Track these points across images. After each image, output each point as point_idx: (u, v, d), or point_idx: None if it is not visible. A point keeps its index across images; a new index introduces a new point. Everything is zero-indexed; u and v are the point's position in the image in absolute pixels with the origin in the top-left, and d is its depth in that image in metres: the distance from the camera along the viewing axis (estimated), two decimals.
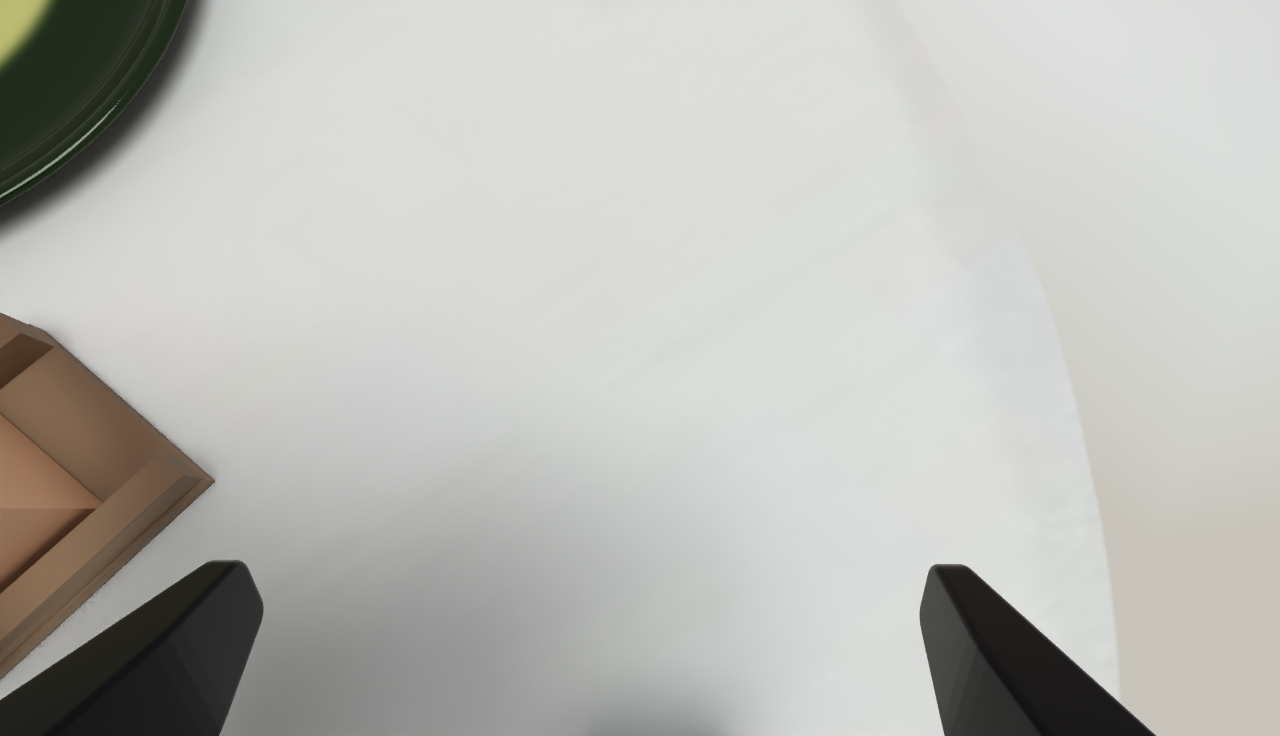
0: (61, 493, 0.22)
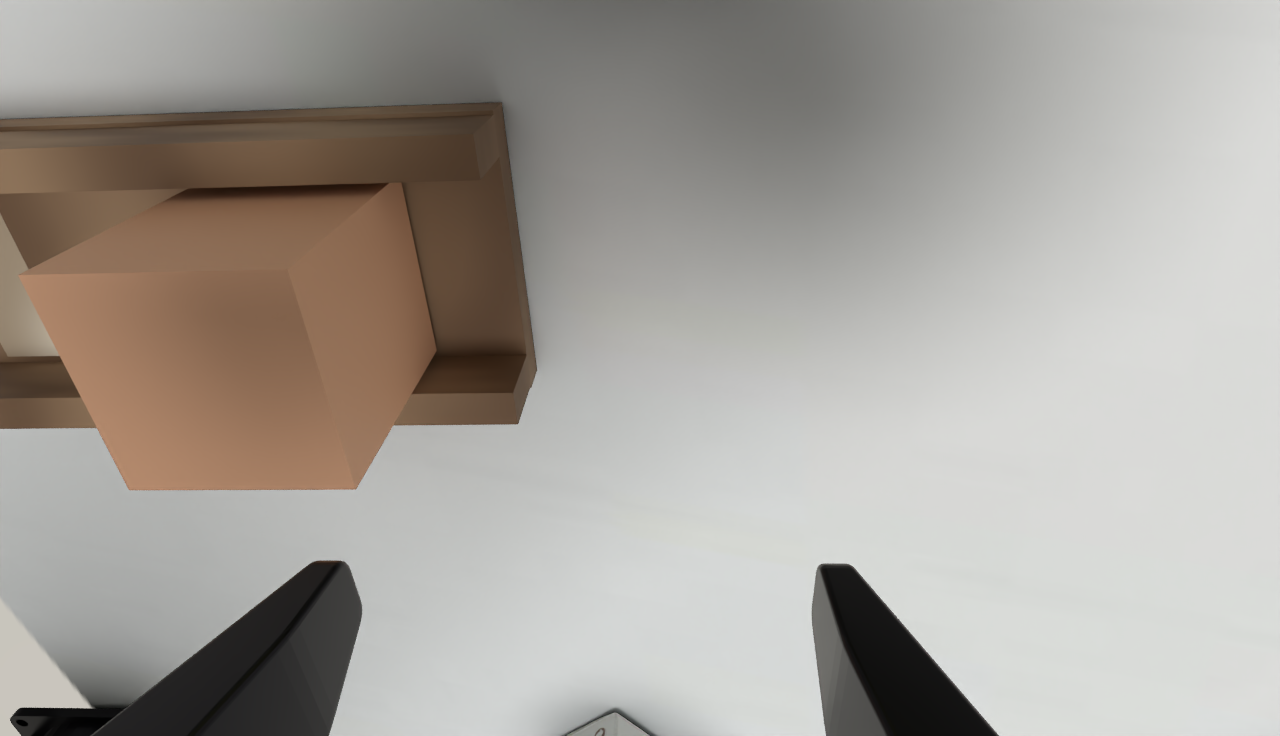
0: (409, 367, 0.18)
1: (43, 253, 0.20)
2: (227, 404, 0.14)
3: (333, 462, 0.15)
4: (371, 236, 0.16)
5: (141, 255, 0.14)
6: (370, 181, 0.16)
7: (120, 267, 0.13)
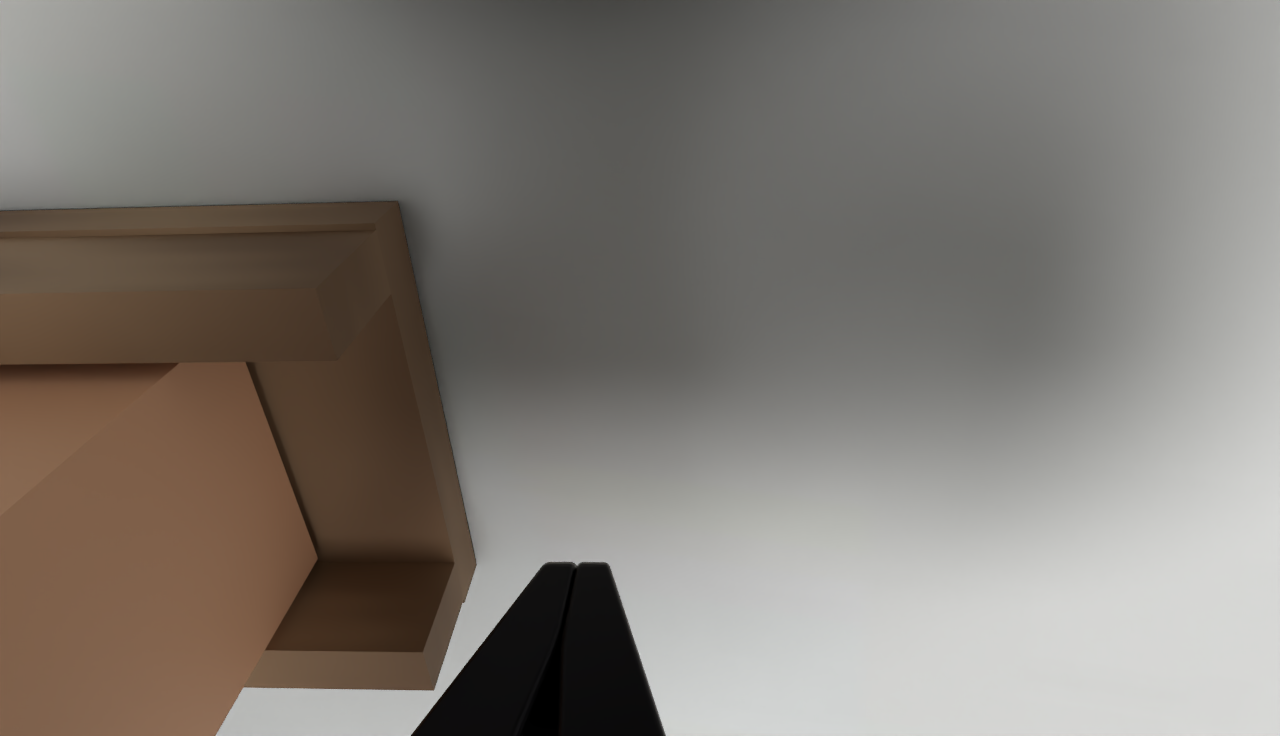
0: (252, 623, 0.11)
1: None
2: None
3: None
4: (151, 454, 0.09)
5: None
6: (146, 360, 0.09)
7: None
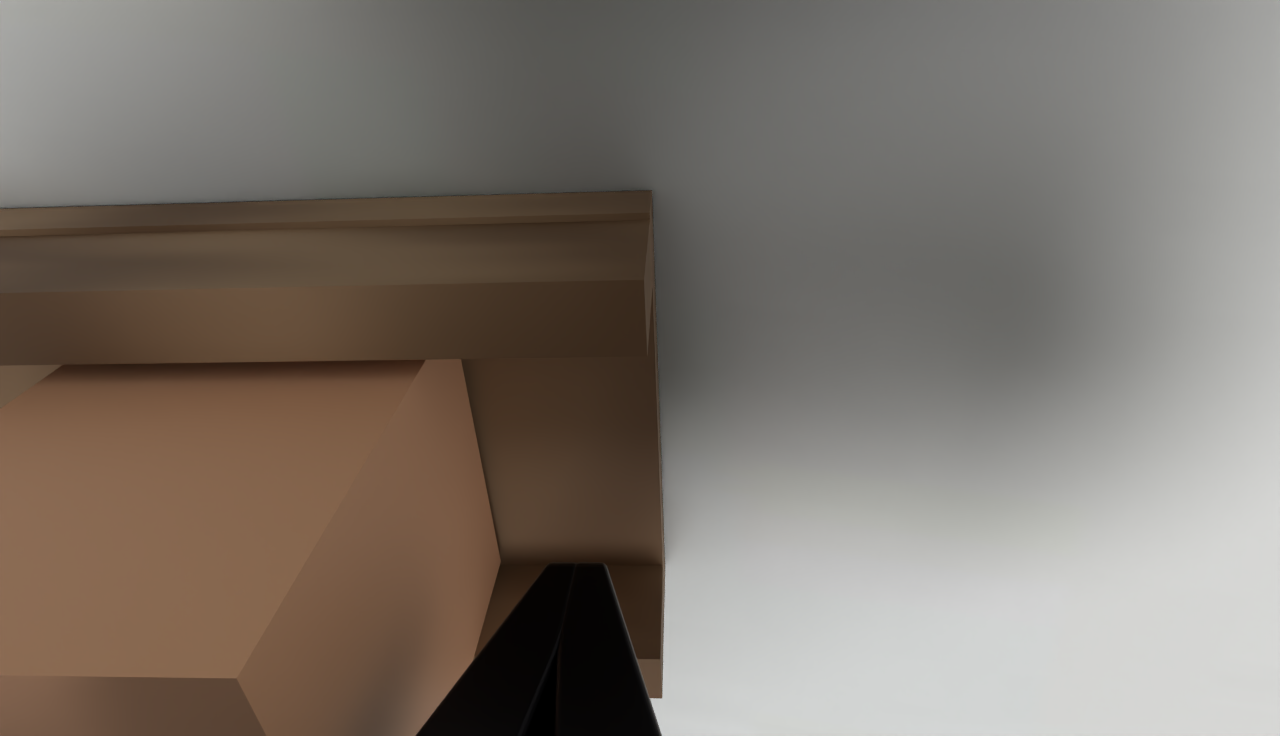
0: (467, 630, 0.11)
1: None
2: None
3: None
4: (412, 455, 0.09)
5: None
6: (443, 356, 0.09)
7: None
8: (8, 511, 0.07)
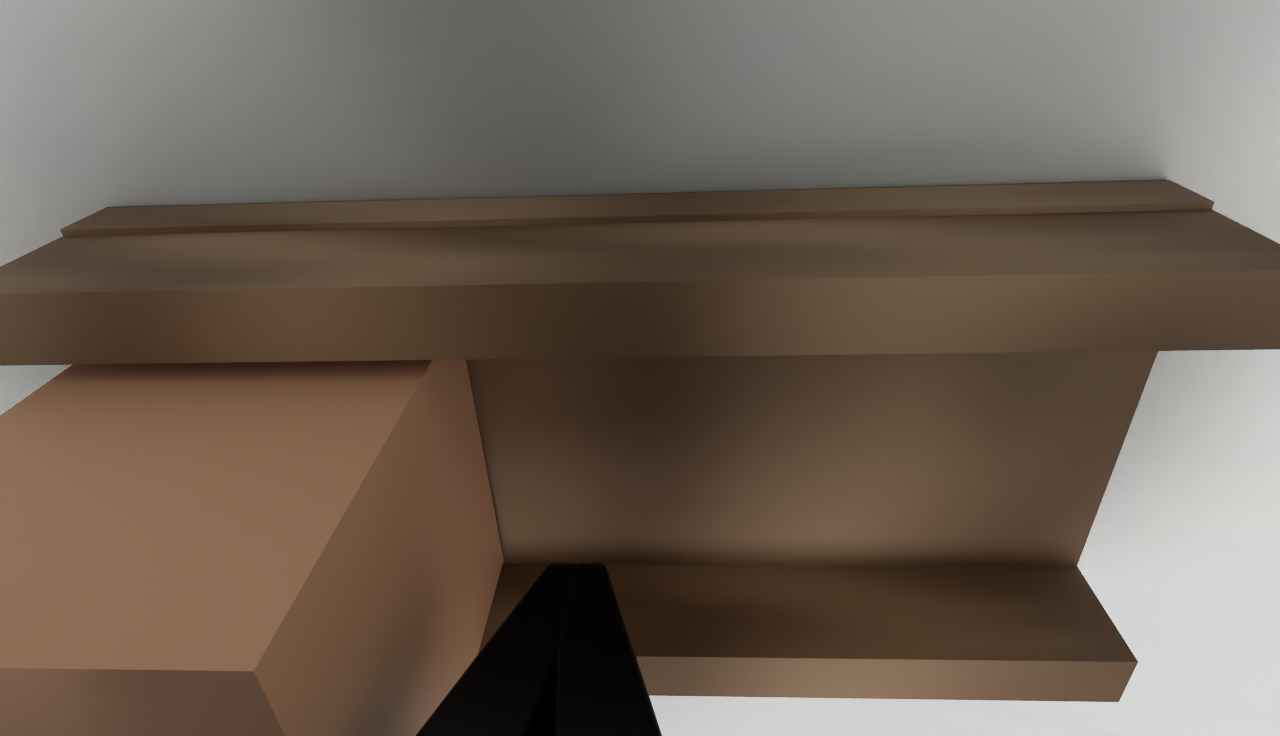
0: (471, 628, 0.11)
1: None
2: None
3: None
4: (418, 455, 0.09)
5: None
6: (1069, 348, 0.08)
7: None
8: (23, 509, 0.07)
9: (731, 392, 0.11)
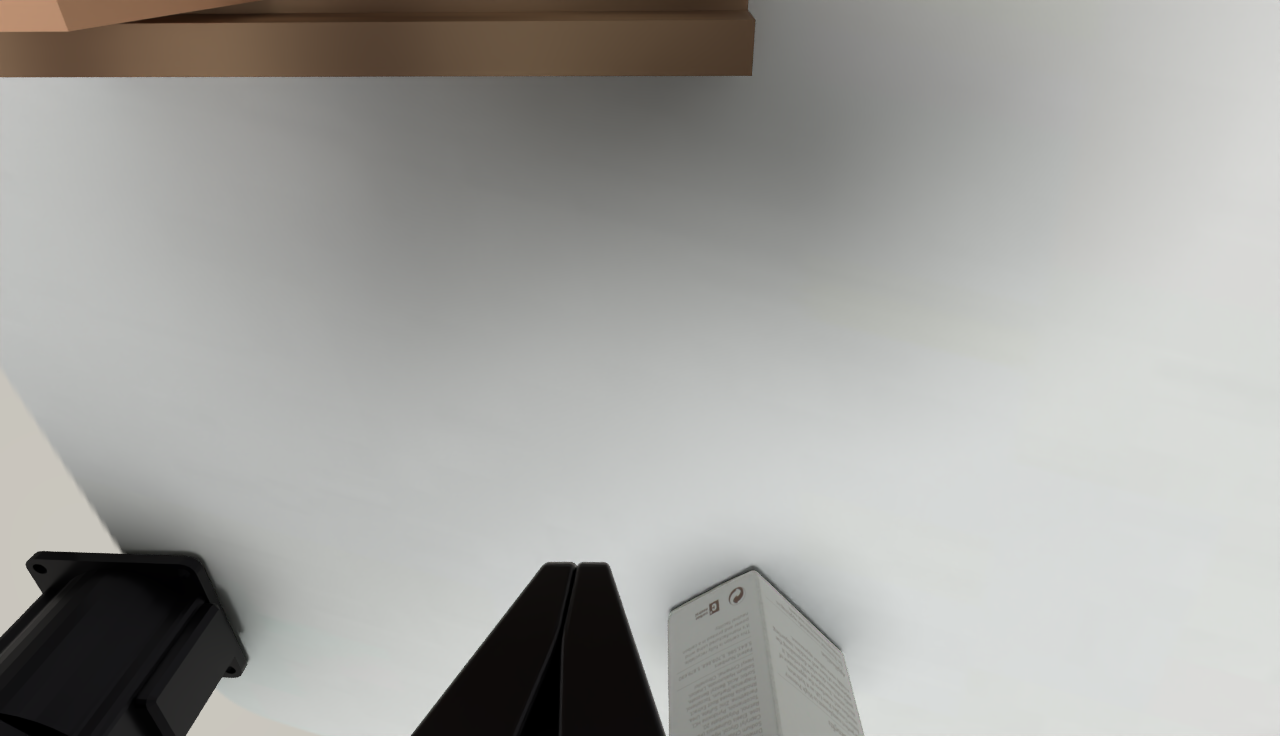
0: None
1: None
2: None
3: None
4: None
5: None
6: None
7: None
8: None
9: None
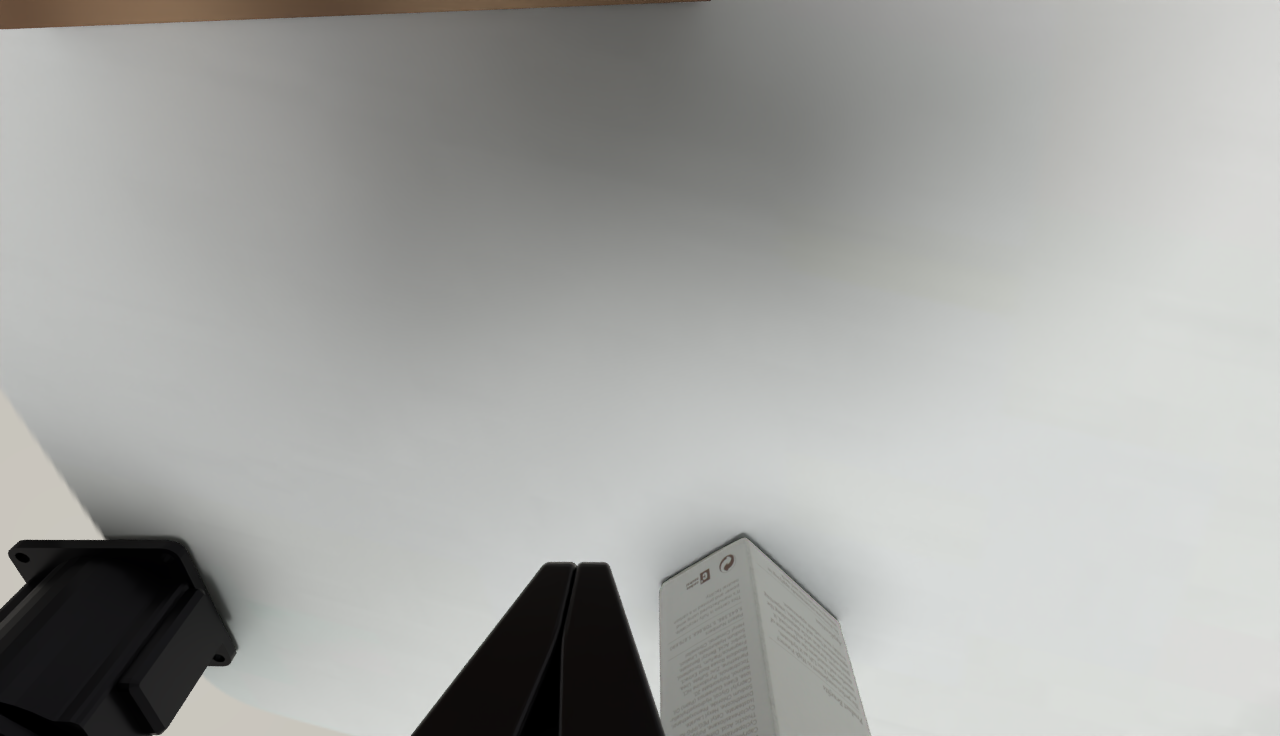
0: None
1: None
2: None
3: None
4: None
5: None
6: None
7: None
8: None
9: None
